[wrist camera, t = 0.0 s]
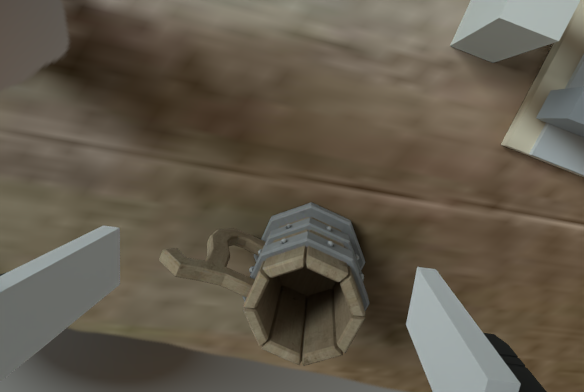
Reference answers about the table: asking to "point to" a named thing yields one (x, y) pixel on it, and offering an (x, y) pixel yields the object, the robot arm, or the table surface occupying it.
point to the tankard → (291, 281)
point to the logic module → (511, 26)
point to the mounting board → (552, 76)
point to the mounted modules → (565, 109)
